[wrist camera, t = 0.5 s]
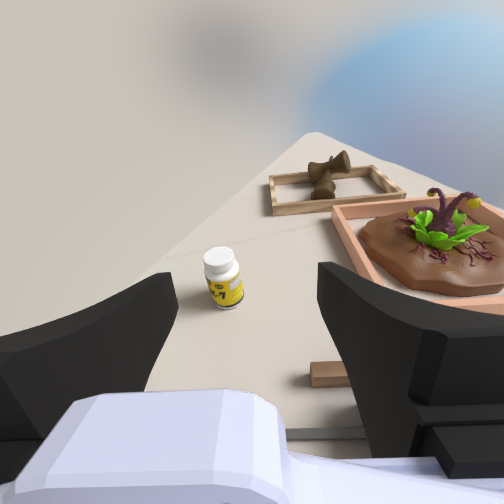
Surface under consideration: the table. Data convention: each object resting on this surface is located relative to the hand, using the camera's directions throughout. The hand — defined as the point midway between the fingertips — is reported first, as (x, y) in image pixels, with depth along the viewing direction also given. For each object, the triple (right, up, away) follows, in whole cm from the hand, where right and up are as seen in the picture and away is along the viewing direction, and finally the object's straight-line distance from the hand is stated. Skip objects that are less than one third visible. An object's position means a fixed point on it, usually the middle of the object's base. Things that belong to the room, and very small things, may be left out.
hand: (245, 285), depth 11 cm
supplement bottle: (-3, -5, +24) cm, 25 cm away
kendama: (+20, +18, +48) cm, 55 cm away
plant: (+30, +1, +28) cm, 41 cm away
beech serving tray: (+19, +16, +47) cm, 54 cm away
